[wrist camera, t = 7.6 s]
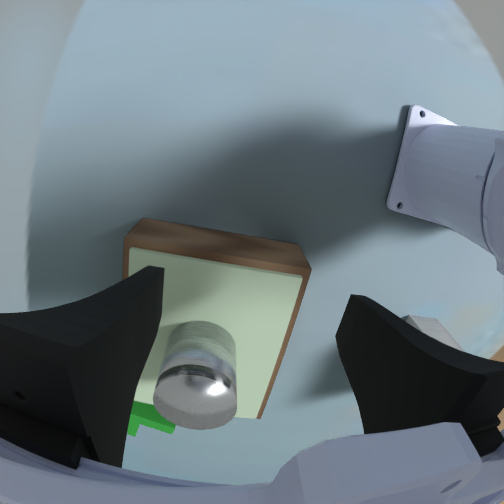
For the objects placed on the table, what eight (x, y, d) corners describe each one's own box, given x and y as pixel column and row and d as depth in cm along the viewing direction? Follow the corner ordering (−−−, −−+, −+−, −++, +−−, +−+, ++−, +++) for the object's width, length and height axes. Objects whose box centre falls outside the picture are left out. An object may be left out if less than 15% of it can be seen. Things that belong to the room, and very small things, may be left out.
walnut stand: (299, 244, 22) (313, 272, 18) (257, 385, 27) (260, 422, 23) (142, 217, 21) (121, 239, 16) (138, 367, 26) (126, 402, 22)
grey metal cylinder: (232, 318, 19) (232, 375, 14) (239, 371, 20) (240, 428, 16) (160, 322, 19) (142, 377, 14) (175, 373, 20) (164, 428, 16)
